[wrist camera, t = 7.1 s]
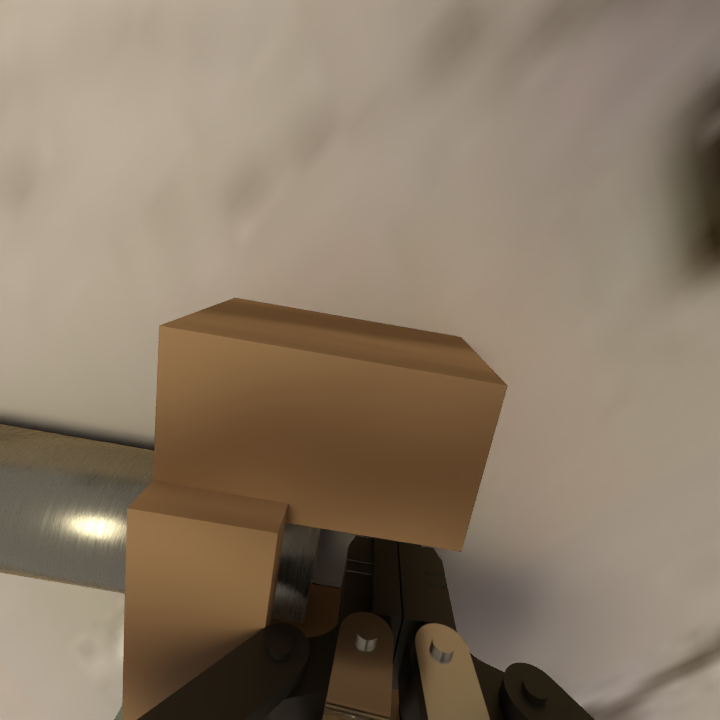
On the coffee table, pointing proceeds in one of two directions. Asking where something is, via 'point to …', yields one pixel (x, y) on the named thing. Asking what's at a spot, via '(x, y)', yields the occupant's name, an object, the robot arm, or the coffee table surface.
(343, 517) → the brown h-shaped block
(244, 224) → the coffee table surface
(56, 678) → the coffee table surface
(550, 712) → the robot arm
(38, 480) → the axle
